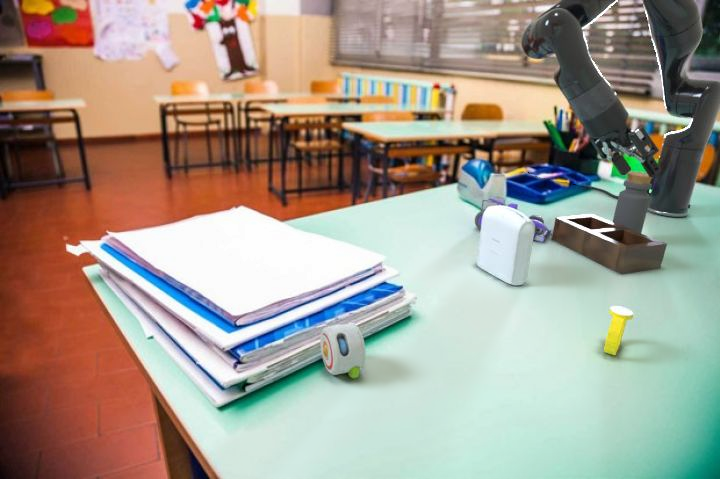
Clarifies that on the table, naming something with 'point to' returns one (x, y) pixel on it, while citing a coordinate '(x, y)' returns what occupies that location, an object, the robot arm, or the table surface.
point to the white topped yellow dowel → (616, 328)
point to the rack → (609, 243)
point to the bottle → (633, 201)
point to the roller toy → (343, 349)
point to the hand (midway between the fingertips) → (640, 173)
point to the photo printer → (505, 244)
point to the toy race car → (535, 219)
